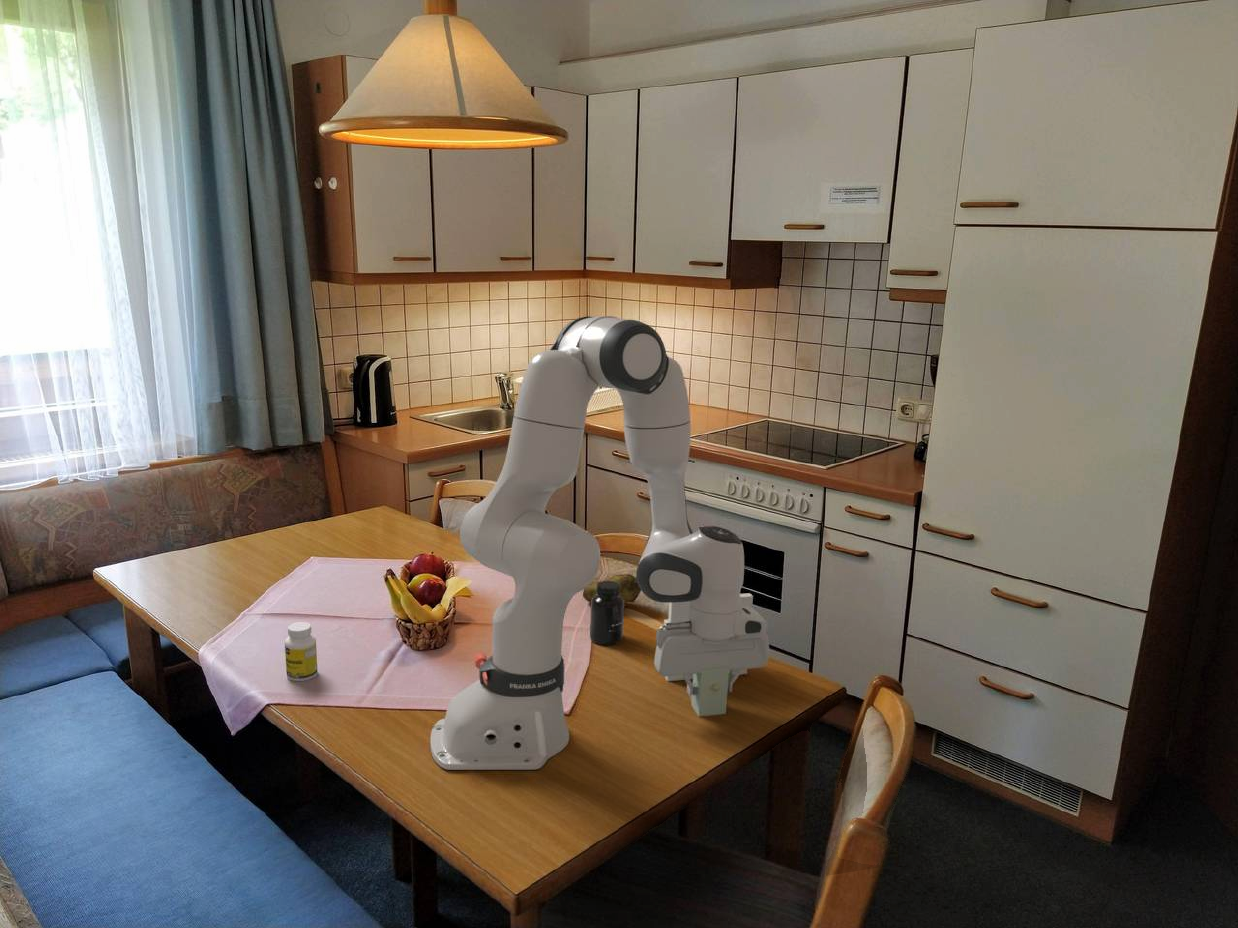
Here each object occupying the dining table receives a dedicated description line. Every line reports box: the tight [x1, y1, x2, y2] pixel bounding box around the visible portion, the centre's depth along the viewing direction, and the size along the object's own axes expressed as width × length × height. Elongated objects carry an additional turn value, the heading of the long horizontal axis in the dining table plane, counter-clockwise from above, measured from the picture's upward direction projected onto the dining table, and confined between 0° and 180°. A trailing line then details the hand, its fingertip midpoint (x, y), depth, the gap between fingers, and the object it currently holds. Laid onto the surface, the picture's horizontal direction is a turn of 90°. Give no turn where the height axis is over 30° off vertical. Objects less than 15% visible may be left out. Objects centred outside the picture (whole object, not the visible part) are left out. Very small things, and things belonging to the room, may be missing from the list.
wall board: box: [663, 592, 754, 682], centre depth 170 cm, size 16×8×16 cm, turn 105°
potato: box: [582, 573, 642, 604], centre depth 200 cm, size 8×13×8 cm, turn 54°
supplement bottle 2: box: [589, 580, 625, 646], centre depth 183 cm, size 7×7×12 cm
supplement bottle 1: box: [284, 621, 318, 682], centre depth 164 cm, size 5×5×10 cm
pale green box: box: [690, 666, 729, 717], centre depth 158 cm, size 5×7×9 cm
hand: (709, 692), depth 158 cm, fingers closed on pale green box, 5 cm apart
